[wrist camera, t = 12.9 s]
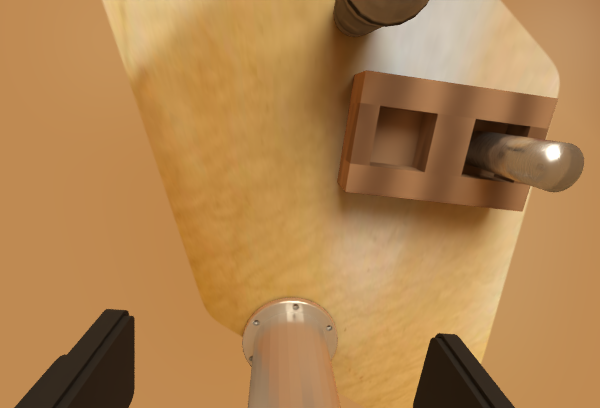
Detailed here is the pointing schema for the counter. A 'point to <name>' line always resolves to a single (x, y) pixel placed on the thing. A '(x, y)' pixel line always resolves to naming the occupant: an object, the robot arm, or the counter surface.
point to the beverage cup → (373, 14)
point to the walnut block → (433, 139)
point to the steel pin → (526, 159)
